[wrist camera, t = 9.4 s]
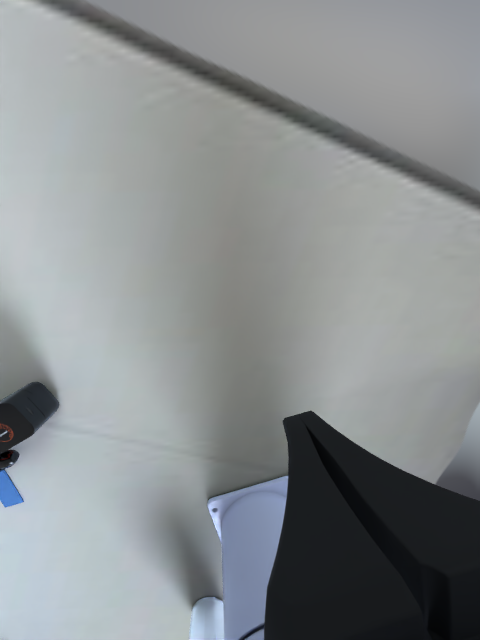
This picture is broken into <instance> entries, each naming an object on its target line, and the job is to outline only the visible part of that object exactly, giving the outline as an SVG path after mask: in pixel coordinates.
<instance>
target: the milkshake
mask: <svg viewBox="0 0 480 640" xmlns="http://www.w3.org/2000/svg"><path fill="white" fill-rule="evenodd" d="M189 640H225V639H224V607H223V602H222V601H221V600H220V599H218V598H216V597H205V598H203V599H200V600H198V601H197V602H196V603H195V605H194V606H193V608H192V614H191V623H190V632H189Z"/></svg>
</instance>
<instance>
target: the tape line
mask: <svg viewBox="0 0 480 640" xmlns="http://www.w3.org/2000/svg"><path fill="white" fill-rule="evenodd" d="M0 500H1V502H2V504H3V505H4V507H8V506H12V505H15V504H19V503H22V502H24V501H23V499H22V497H21V496H20V494H19V493H18V491H17V489H16V488H15V486H14V484H13V483H12V481H11V480H10V478H9V476H8V475H7V473H6V471H5V470H3V471H1V472H0Z"/></svg>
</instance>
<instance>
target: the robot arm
mask: <svg viewBox="0 0 480 640" xmlns="http://www.w3.org/2000/svg"><path fill="white" fill-rule="evenodd" d="M283 425H284V429H285V433H286V437H287V442H288V456H289V463H288V476H284V477H281V478H277V479H274V480H270V481H267V482H264V483H260V484H257V485H254V486H250V487H247V488H244V489H240V490H237V491H234V492H230V493H227V494H223V495H220V496H217V497H213V498H211V499H209V500H208V509H209V512H210V515H211V517H212V520H213V523H214V525H215V528H216V531H217V533H218V536H219V539H220V542H221V544H222V575H223V607H224V639H225V640H480V501H478V500H475V499H472V498H469V497H466V496H463V495H460V494H458V493H455V492H452V491H450V490H447V489H445V488H442V487H439V486H437V485H435V484H432V483H430V482H427V481H425V480H423V479H421V478H418V477H416V476H414V475H412V474H409V473H407V472H405V471H403V470H401V469H399V468H397V467H395V466H393V465H391V464H389V463H387V462H385V461H384V460H382V459H380V458H378V457H376V456H375V455H373V454H371V453H370V452H368V451H366V450H365V449H363V448H362V447H360V446H358V445H357V444H355V443H354V442H352V441H351V440H349V439H348V438H347V437H345V436H344V435H342V434H341V433H340V432H338V431H337V430H335V429H334V428H333V427H331V426H330V425H329V424H328V423H326V422H325V421H324V420H322V419H321V418H320V417H319V416H318V415H316V414H315V413H314V412H312V411H308V412H304V413H301V414H297V415H294V416H290V417H287V418H284V420H283Z"/></svg>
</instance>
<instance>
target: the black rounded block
mask: <svg viewBox="0 0 480 640" xmlns="http://www.w3.org/2000/svg"><path fill="white" fill-rule="evenodd" d="M58 408H59V402H58V400H57V399H56V398H55V397H54V396H53V395H52V394H51V392H50V391H49V390H48V389H47V388H46V387H45V386H44V385H43V384H42V383H40V382H32V383H30V384H28V385H26V386H24V387H22V388H21V389H19V390H17V391H16V392H14V393H12V394H11V395H9V396H7V397H5V398H4V399H2V400H0V472H1V471H3V470H4V469H5V468H8V467H11V466H12V465H13V464H14V463H15V462H16V461H17V459H18V458H19V453H18V452H17V451H15V450H8V449H10V448H11V447H13V446H15V445H16V444H18V443H20V442H22V441H23V440H25V439H27V438H28V437H30V436H32V435H33V434H34V433H35V432H36V431H37V430H38V429H39V428H40V427H41V426H42V425H43V424H44V423H45V422H46V421H47V420H48V419H49V418H50V417H51V416H52V415H53V414H54V413H55V412H56V411H57V409H58Z"/></svg>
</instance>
